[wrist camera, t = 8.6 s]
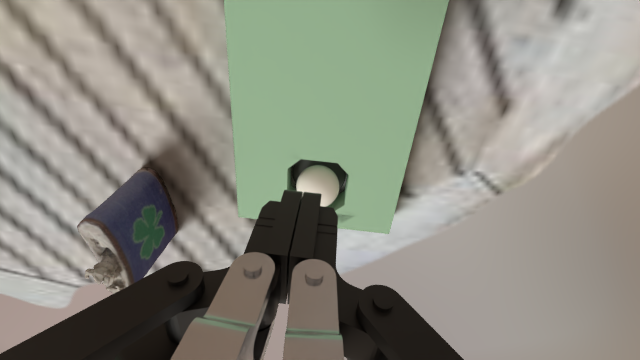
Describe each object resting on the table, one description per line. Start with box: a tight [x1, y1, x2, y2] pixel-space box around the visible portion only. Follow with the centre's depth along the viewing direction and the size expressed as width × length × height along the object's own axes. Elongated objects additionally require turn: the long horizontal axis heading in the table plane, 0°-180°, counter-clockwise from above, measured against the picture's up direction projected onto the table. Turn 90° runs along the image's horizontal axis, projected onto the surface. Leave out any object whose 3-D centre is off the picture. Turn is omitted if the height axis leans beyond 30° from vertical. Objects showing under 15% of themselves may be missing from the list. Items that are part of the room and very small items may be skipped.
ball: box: [296, 165, 339, 207], centre depth 30 cm, size 4×4×4 cm
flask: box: [77, 168, 178, 294], centre depth 30 cm, size 9×3×11 cm, turn 1°
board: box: [224, 0, 449, 234], centre depth 27 cm, size 21×15×2 cm
